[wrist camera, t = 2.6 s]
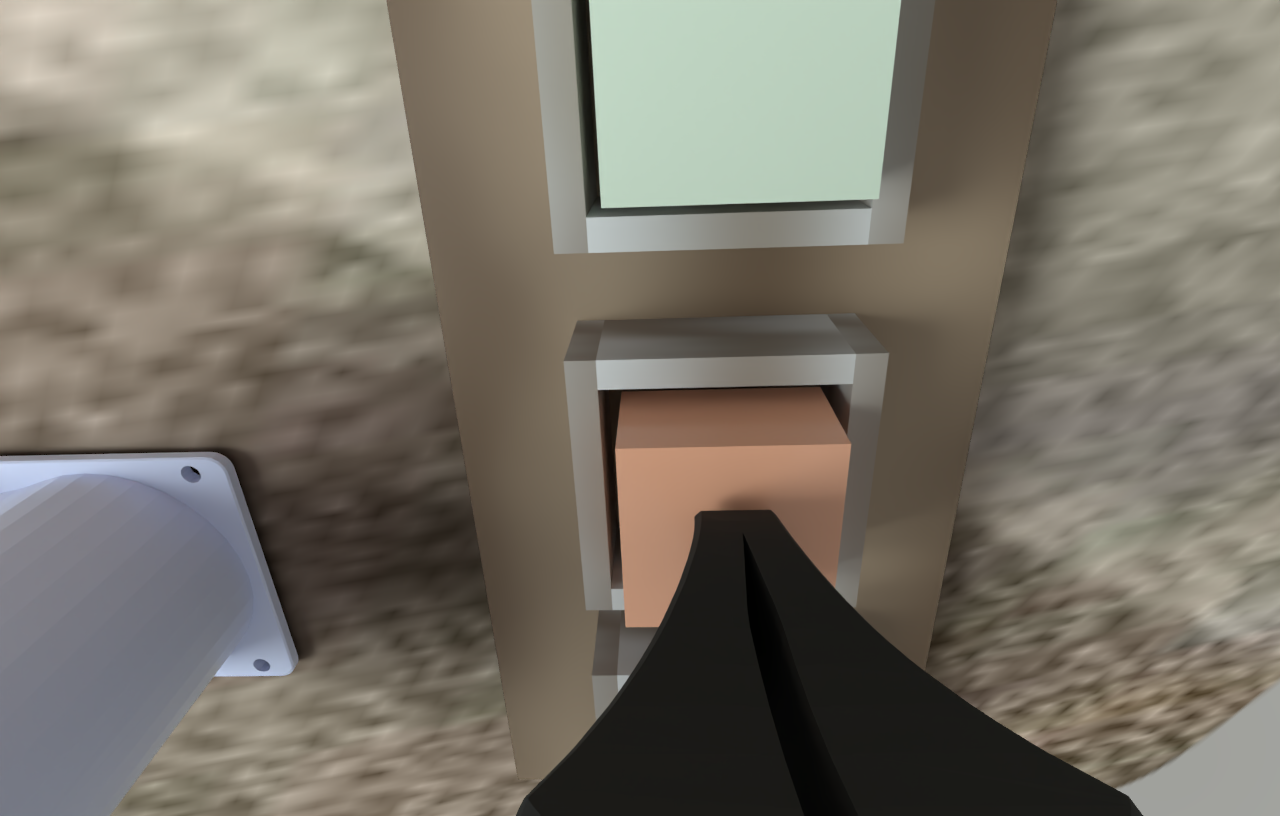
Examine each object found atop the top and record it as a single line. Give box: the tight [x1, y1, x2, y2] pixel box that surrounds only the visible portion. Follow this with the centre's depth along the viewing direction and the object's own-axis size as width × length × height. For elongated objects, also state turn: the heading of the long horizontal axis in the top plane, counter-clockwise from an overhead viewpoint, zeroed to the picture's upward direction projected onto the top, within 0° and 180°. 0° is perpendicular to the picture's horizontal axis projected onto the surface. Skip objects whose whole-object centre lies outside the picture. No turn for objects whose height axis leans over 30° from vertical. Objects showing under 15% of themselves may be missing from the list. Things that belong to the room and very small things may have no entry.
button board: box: [387, 0, 1057, 779], centre depth 16 cm, size 12×24×4 cm, turn 2°
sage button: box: [589, 0, 901, 208], centre depth 10 cm, size 4×4×2 cm
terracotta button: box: [615, 387, 851, 627], centre depth 13 cm, size 4×4×2 cm
